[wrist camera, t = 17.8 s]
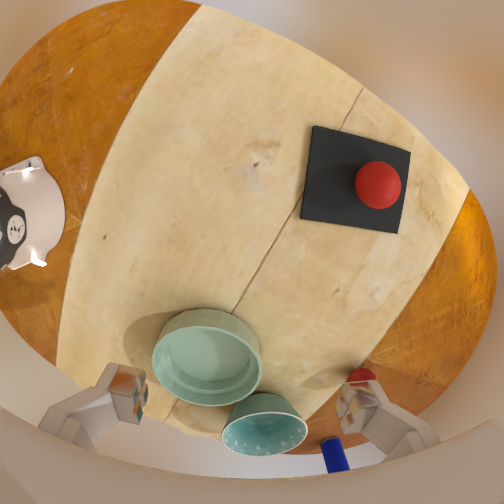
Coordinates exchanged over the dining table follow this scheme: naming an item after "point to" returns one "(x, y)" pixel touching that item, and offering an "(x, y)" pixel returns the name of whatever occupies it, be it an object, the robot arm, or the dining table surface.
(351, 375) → the onion
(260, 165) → the dining table surface
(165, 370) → the fruit bowl
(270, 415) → the bowl
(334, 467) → the beverage can
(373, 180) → the red ball
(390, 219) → the mat
